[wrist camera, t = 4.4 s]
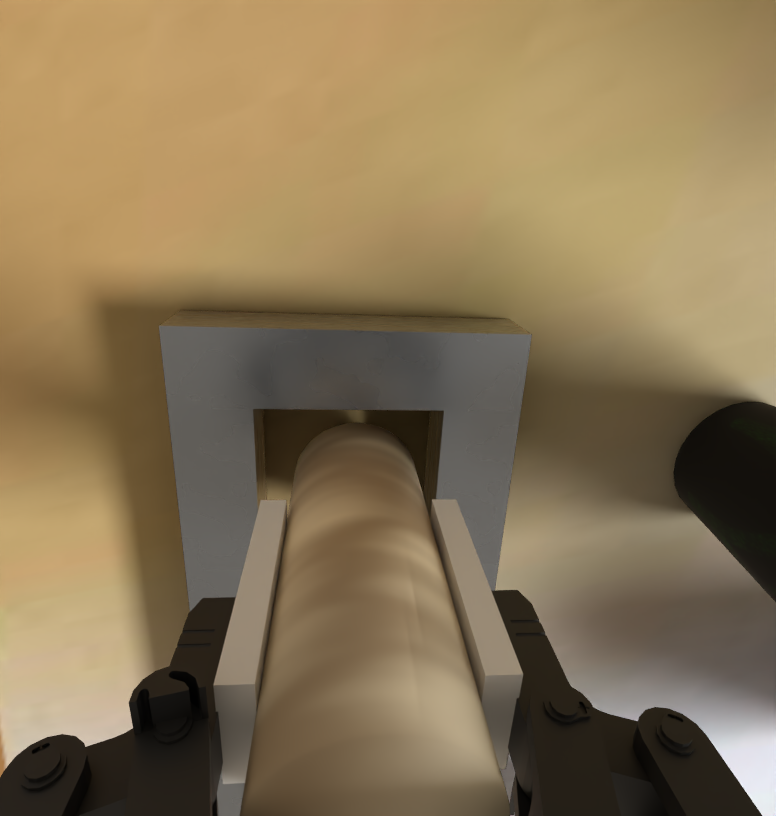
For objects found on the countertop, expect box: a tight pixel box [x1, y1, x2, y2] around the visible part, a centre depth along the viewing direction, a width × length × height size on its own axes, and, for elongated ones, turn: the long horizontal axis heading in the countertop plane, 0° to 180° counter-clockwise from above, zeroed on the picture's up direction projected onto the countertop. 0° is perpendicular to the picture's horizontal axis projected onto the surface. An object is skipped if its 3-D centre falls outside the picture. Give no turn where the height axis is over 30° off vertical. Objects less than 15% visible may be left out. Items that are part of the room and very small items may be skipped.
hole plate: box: [159, 310, 532, 816], centre depth 24 cm, size 12×30×3 cm, turn 177°
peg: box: [240, 423, 510, 816], centre depth 14 cm, size 4×4×12 cm
